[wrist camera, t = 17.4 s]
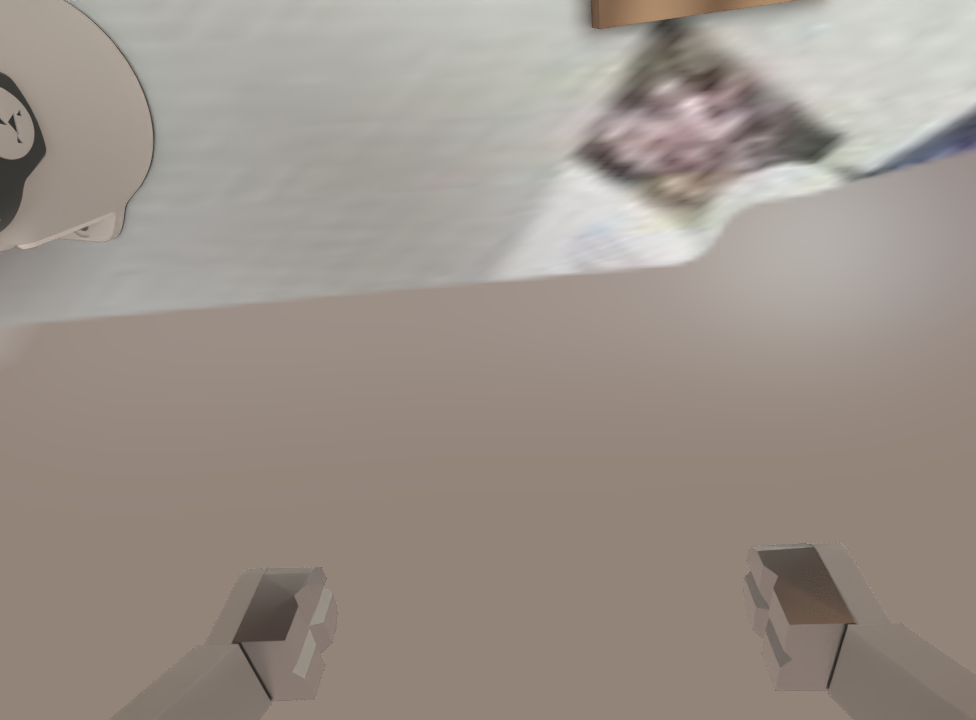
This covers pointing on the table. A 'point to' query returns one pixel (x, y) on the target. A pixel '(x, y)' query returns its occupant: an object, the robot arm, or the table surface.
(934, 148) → the table surface
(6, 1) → the robot arm
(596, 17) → the shelf stand
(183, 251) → the table surface
